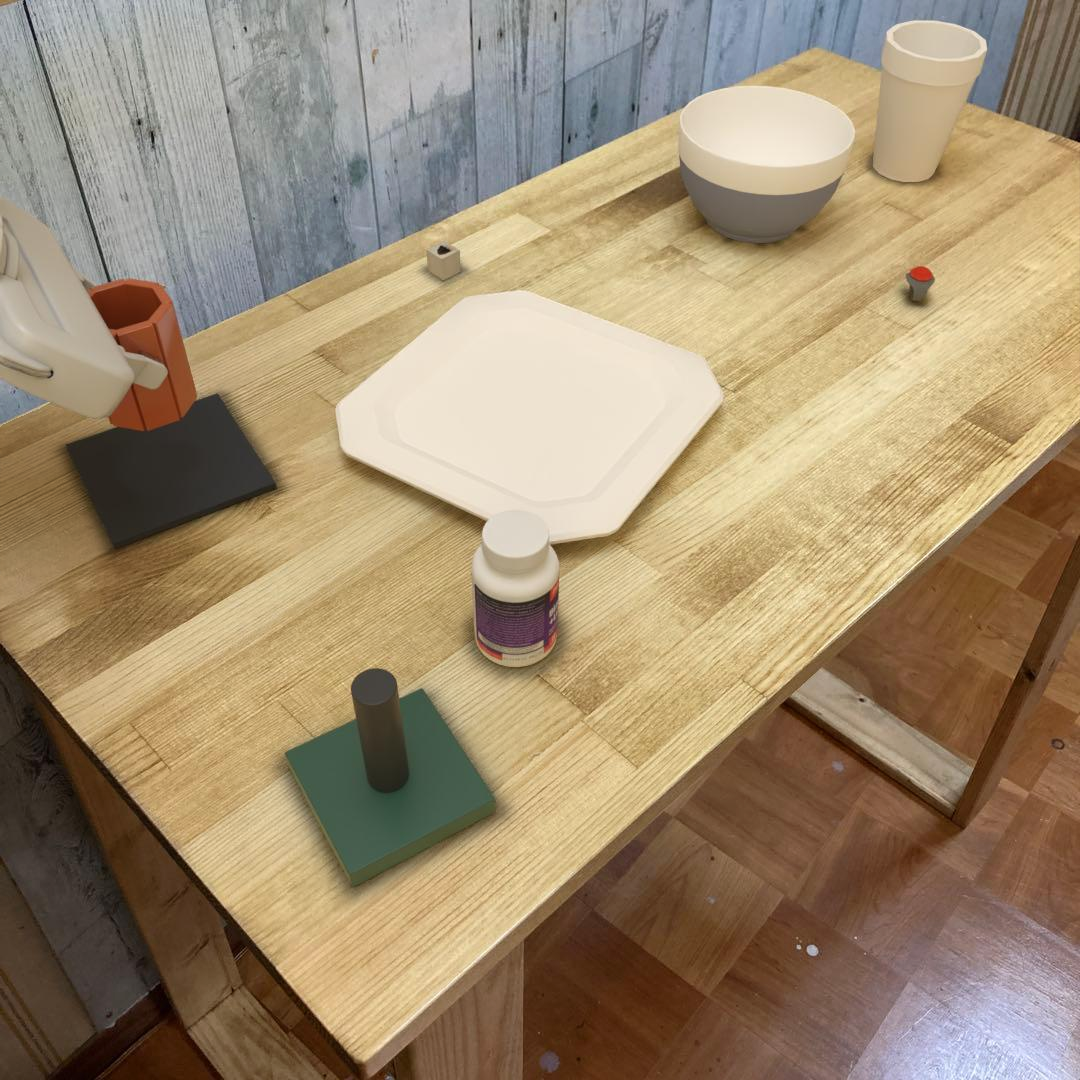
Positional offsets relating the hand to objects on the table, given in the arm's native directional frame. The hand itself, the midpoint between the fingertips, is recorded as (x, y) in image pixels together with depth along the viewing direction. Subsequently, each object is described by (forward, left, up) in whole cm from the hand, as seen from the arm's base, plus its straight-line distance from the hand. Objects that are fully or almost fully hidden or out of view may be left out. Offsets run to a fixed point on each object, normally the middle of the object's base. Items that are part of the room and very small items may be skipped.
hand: (141, 344), depth 77 cm
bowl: (+59, +6, -11) cm, 61 cm away
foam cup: (+79, +6, -11) cm, 80 cm away
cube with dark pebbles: (+29, +13, -11) cm, 34 cm away
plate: (+25, -9, -11) cm, 29 cm away
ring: (+63, -12, -11) cm, 66 cm away
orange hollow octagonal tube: (-1, 0, -5) cm, 5 cm away
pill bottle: (+13, -27, -11) cm, 32 cm away
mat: (-1, 0, -11) cm, 11 cm away
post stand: (+1, -33, -11) cm, 35 cm away
